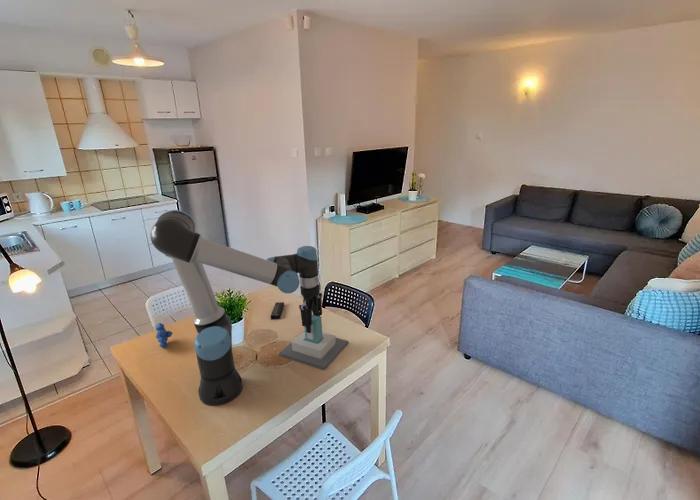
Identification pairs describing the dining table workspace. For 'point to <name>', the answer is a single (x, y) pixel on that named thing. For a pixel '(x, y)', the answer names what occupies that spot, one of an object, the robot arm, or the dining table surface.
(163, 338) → the grapes
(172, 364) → the dining table surface
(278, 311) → the multiport hub
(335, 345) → the socket block
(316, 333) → the teal peg
